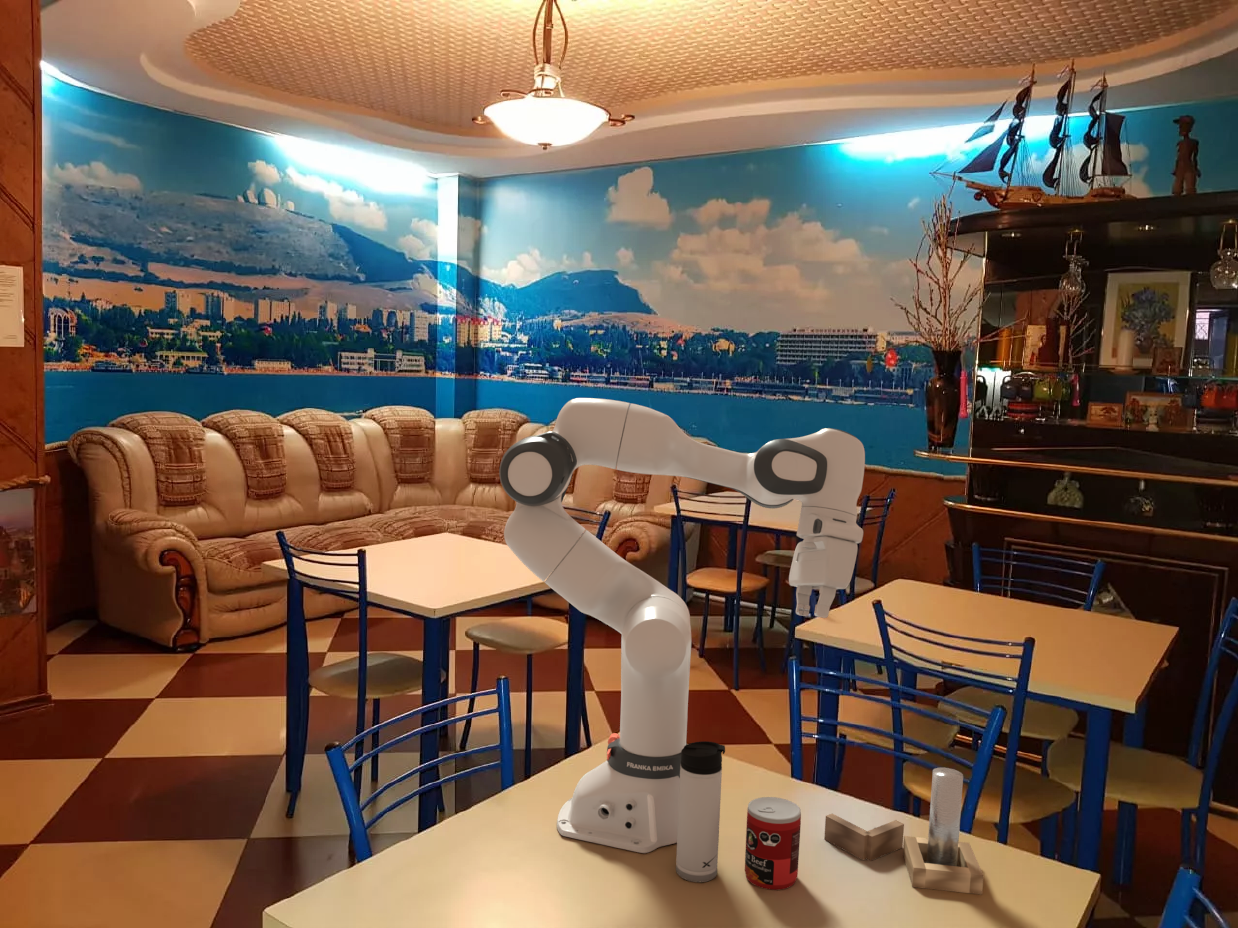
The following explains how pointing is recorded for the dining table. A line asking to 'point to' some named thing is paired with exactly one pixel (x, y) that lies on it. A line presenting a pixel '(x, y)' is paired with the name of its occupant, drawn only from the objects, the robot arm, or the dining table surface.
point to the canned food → (772, 842)
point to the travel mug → (699, 811)
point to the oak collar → (942, 868)
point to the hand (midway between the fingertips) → (810, 616)
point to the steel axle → (944, 816)
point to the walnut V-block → (864, 837)
